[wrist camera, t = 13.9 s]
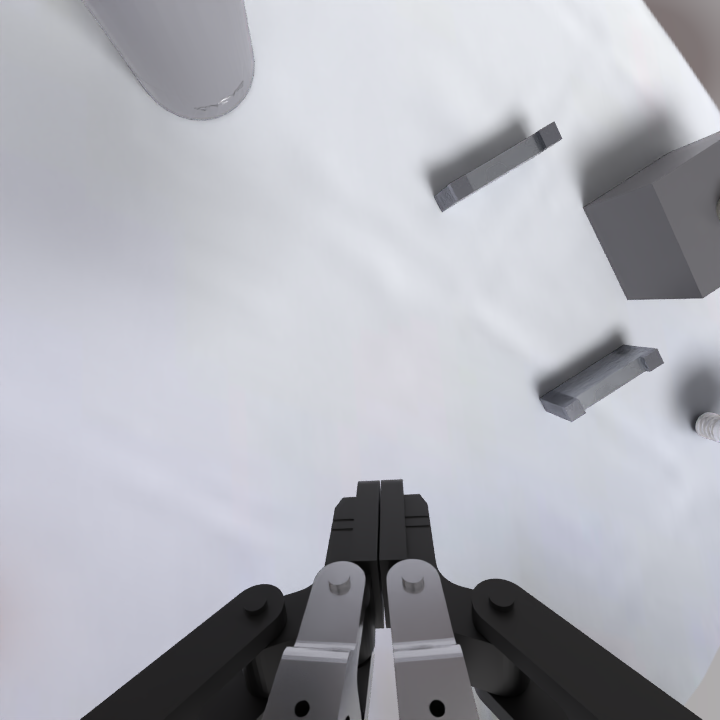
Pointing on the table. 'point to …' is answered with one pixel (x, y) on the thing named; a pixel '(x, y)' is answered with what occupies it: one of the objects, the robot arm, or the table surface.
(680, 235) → the plug block
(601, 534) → the table surface
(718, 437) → the lightbulb
